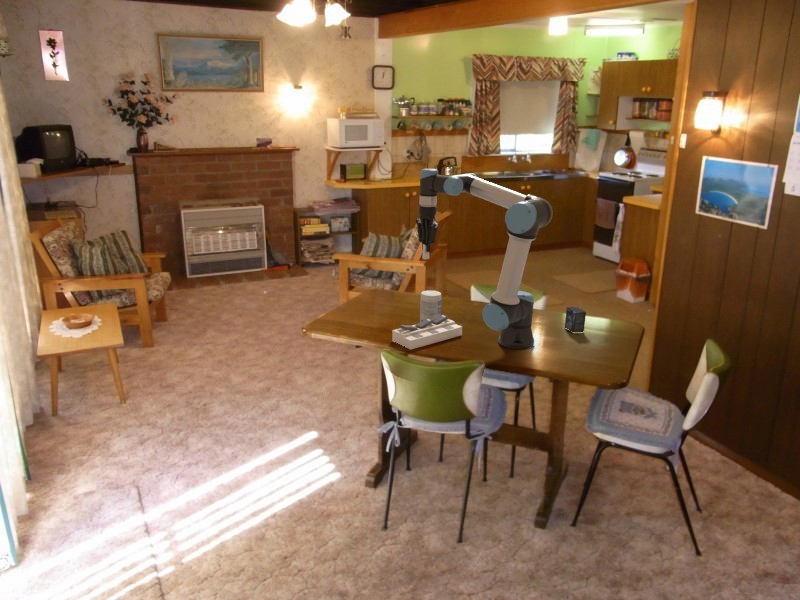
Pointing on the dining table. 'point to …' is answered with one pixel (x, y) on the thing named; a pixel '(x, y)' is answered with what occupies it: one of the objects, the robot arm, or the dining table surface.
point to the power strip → (427, 334)
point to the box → (575, 319)
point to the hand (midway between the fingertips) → (425, 258)
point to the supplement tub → (430, 305)
